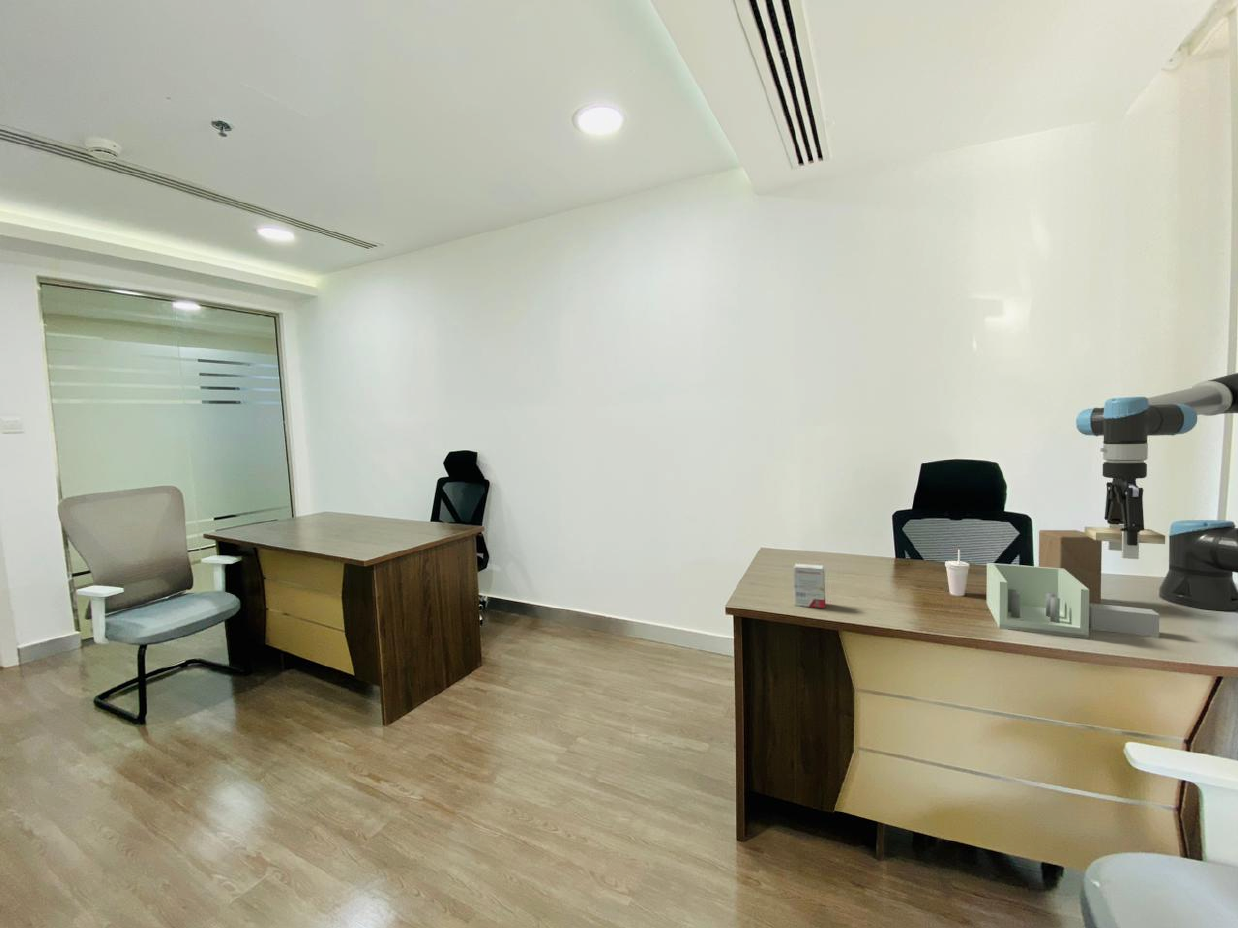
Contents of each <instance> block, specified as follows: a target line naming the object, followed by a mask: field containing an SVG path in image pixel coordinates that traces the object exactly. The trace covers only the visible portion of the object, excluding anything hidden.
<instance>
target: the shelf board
mask: <svg viewBox="0 0 1238 928" xmlns="http://www.w3.org/2000/svg"><path fill="white" fill-rule="evenodd" d="M1120 529H1121V528H1108V527H1101V526H1100V527H1098V526H1084V532H1085V535H1087V536H1088V537H1090V538H1092V539H1094V540H1095V541H1102V542H1108V541H1113V542H1122V531H1120ZM1139 544H1154V545H1155V544H1157V545H1166V535H1164V534H1162V533H1160V532H1158V531H1154V530H1152V529H1150V528H1149V529H1148V528H1144V530H1143V531H1140V532H1139Z"/></svg>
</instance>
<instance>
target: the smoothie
mask: <svg viewBox="0 0 1238 928" xmlns="http://www.w3.org/2000/svg"><path fill="white" fill-rule="evenodd" d="M944 566H945V568H946V569H945V570H946V576H947V583H948V588H949V589H948V590H949V594H950V595H951V596H955V597H963V596H965V593H966V588H967V580H968V575H969V569H970V568H971V566H970V563H968V562H965V561H961V549H958V548H957V560H946V561H945V562H944Z"/></svg>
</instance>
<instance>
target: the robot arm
mask: <svg viewBox="0 0 1238 928" xmlns="http://www.w3.org/2000/svg"><path fill="white" fill-rule="evenodd" d="M1220 414H1222V415H1223V414H1225V415H1226V414H1238V372H1235V373H1232V374H1228V375H1224V376H1219V377H1216V378H1212V379H1209V380H1204V381H1200V382H1198V383H1196V384H1194V385H1193V386H1192V387H1191V388H1187V389H1186V388H1185V389H1182V390H1177V391H1173V392H1169V393H1163V394H1159V395H1155V396H1150V397H1146V396H1129V397H1116V398H1114V397H1113V398H1109V399H1106V400H1105V402H1104V407H1093V408H1086V409H1083V410H1082V411H1080V412H1079V413H1078V415H1077V416H1076V419H1075V424H1076V429H1077V431H1078V432H1079V433H1081V434H1082V435H1084V436H1093V437H1100V436H1103V443H1102V444H1103V447H1101V448H1100V450H1099V451H1100V452H1102V459H1103V460H1104V461H1105V462H1103V463H1102V476H1103V477H1104V478H1108V479H1112V481H1108V482H1106V485H1105V486H1106V497H1105V498H1106V499H1105V508H1104V509H1105V511H1104V520H1105V521H1106V522H1107V525H1108V527H1107V528H1121V529H1120V531H1122V542H1113V541H1107V550H1108V551H1116V552H1117V551H1119V552H1121V558H1122V559H1129V560H1130V559H1132V560H1139V559H1140V556H1139V555H1140V554H1139V553H1140V543H1139V532H1140V531H1143V530H1144V529H1145V518H1144V499H1143V496H1144V488H1143V487H1139V486H1138V485H1137V481H1136V480H1137V479H1145V478H1146V477H1147V475H1148V463H1146V462H1145V461H1147V460H1148V459H1149V457H1148V456H1149V455H1148V449H1149V448H1148V447H1149V444H1148V436H1149V437H1151V436H1153V437H1154V436H1176V435H1183V434H1187V433H1188V432H1190V431H1192V430H1193V429H1194V428H1195V427H1196V425H1197V423H1198V416H1207V417H1209V416H1210V417H1211V416H1217V415H1220ZM1236 526H1237V525H1235V522H1234V521H1232V520H1222V519H1221V520H1220V519H1219V520H1214V519H1213V520H1211V519H1202V520H1201V519H1199V520H1198V519H1197V520H1196V519H1194V520H1193V519H1191V520H1186V519H1185V520H1176V521H1174V522H1172V523H1171V524H1170V528H1169V529H1170V530H1169V534H1168V539H1169V540H1168V541H1169V542H1168V543H1169V544H1168V545H1169V546H1168V550H1169V551H1168V553H1169V554H1168V572H1167V573H1166V575H1165V577H1164V579H1163V581H1162V583H1161V585H1160V587H1159V590H1158V591H1159V592H1158V596H1159V597H1160V598H1161V599H1163V600H1165V601H1167V602H1170V603H1174V604H1178V605H1181V606H1182V605H1183V606H1187V607H1192V608H1197V609H1203V610H1204V609H1205V610H1211V611H1226V612H1227V611H1230V612H1231V611H1232V612H1233V611H1238V588H1237V586H1236V583H1235V581H1234V577H1233V576H1234V573H1237V574H1238V527H1236Z"/></svg>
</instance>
